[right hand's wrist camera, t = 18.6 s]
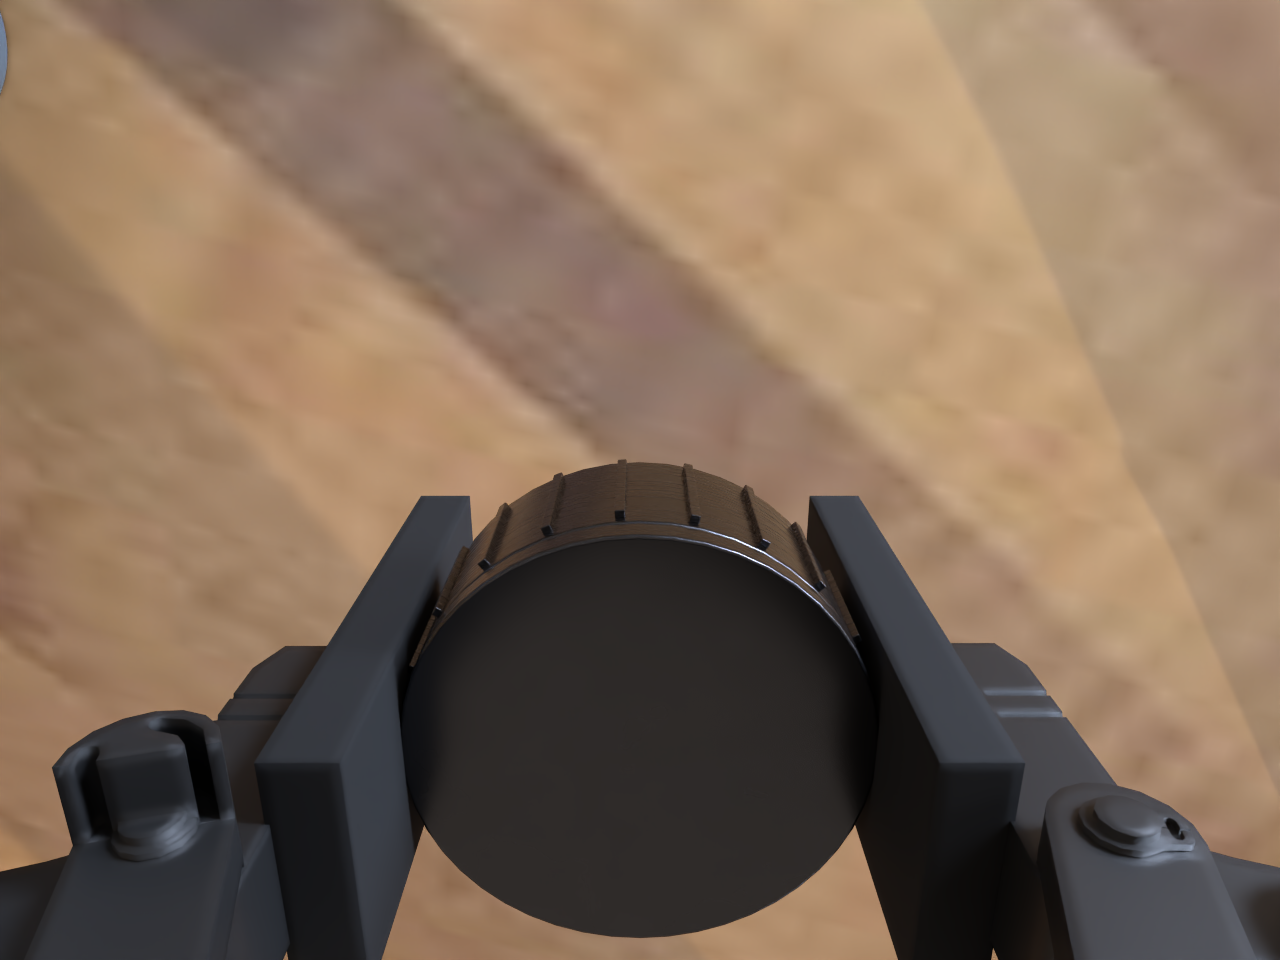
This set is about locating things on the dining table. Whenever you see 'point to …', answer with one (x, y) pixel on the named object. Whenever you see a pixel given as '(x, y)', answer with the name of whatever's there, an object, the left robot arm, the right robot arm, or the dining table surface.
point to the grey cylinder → (3, 53)
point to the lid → (639, 705)
